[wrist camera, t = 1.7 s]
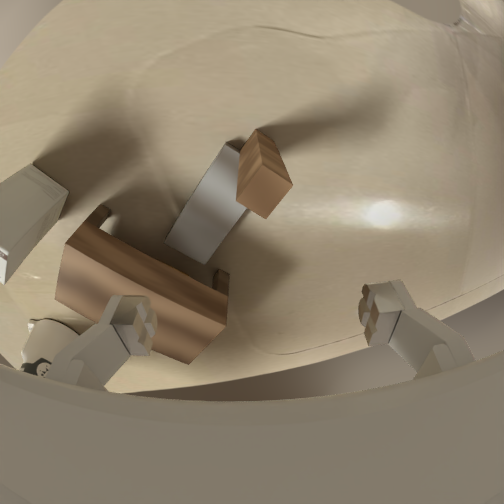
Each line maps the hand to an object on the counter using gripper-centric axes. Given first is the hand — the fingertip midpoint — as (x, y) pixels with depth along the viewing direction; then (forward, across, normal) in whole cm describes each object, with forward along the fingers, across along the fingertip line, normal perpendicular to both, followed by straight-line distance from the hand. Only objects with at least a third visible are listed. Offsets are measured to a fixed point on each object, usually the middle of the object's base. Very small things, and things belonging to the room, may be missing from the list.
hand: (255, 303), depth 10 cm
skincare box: (+23, +29, +1) cm, 37 cm away
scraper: (+23, +4, +6) cm, 24 cm away
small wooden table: (+23, +16, +15) cm, 32 cm away
